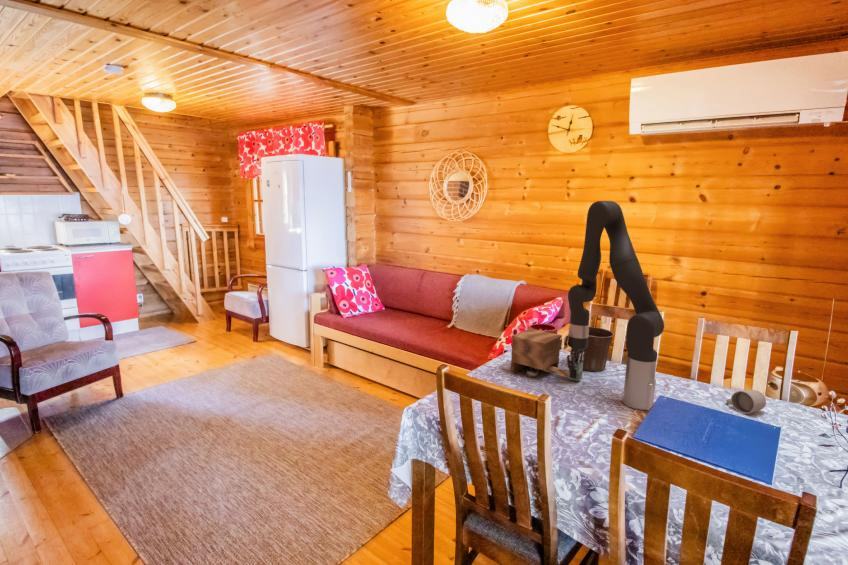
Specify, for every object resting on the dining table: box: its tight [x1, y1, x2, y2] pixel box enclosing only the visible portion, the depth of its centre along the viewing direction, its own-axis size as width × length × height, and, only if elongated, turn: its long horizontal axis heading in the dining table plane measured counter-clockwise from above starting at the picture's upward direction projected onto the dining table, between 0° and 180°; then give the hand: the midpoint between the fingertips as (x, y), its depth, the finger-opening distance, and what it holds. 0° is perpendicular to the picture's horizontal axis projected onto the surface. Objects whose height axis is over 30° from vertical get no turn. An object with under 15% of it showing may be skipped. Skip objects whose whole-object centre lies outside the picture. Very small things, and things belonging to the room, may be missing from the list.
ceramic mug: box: [725, 389, 767, 415], centre depth 155 cm, size 11×8×8 cm
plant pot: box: [583, 326, 615, 373], centre depth 193 cm, size 16×16×16 cm
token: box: [525, 367, 540, 379], centre depth 182 cm, size 5×5×2 cm
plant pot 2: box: [528, 323, 558, 334], centre depth 214 cm, size 13×13×12 cm
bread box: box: [510, 328, 563, 375], centre depth 185 cm, size 15×16×16 cm
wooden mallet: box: [528, 361, 584, 382], centre depth 183 cm, size 22×4×7 cm, turn 49°
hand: (575, 376), depth 178 cm, fingers closed on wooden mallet, 4 cm apart
